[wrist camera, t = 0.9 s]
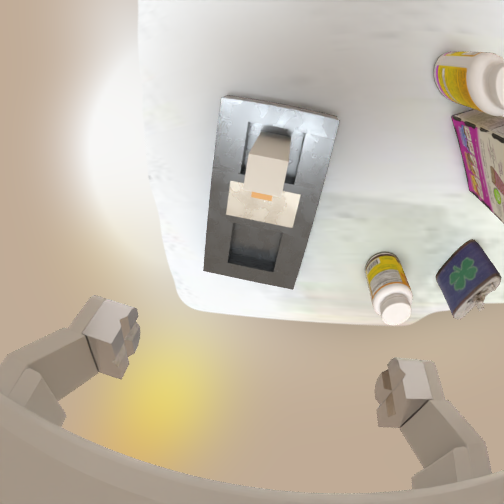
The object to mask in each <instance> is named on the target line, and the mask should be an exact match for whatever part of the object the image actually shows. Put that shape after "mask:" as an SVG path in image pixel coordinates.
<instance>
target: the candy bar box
mask: <svg viewBox="0 0 504 504" xmlns="http://www.w3.org/2000/svg"><path fill="white" fill-rule="evenodd" d="M452 121H453V124H454V127H455V131H456V134H457V138H458V141H459V145H460V149H461V153H462V157H463V161H464V166H465V170H466V175H467V180H468V185H469V190H470V192H472V193H473V194H474V195H475V196H476V197H477V198H478V199H479V200H480V201H481V202H482V203H484V204H485V205H486V206H487V207H488V208H489V209H490V210H491V211H492V212H493V213H494V214H495V215H496V216H497V217H498V218H499V219H500V220H501V221H502V222H503V223H504V117H502V116H493V115H489V114H487V113H484V112H481V111H479V110H476V109H473V110H470V111H468V112H464V113H461V114H458V115H454V116H452Z"/></svg>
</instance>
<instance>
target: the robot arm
mask: <svg viewBox="0 0 504 504" xmlns="http://www.w3.org/2000/svg"><path fill="white" fill-rule="evenodd" d="M137 318H138V312H137V309H136V308H134V307H131V306H128V305H124V304H121V303H118V302H115V301H112V300H109V299H105V298H102V297H99V296H96V295H94V296H92V297H90V299H89V300H88V301H87V303H86V304H85V305H84V307H83V308H82V309H81V311H80V312H79V314H78V315H77V316H76V318H75V319H74V320H73V322H72V323H71V325H70V326H69V327H68V329H67V328H62V329H60V330H58V331H56V332H53V333H52V334H49V335H47V336H45V337H43V338H41V339H39V340H37V341H35V342H32V343H30V344H28V345H26V346H24V347H22V348H20V349H18V350H16V351H14V352H12V353H10V354H8V355H7V356H6V358H5V359H4V360H3V362H2V363H1V365H0V504H504V470H503V471H500V472H496V473H493V474H492V472H491V467H490V461H489V457H488V452H487V447H486V443H485V441H484V440H483V439H482V438H481V437H480V436H479V434H478V433H477V432H476V431H475V430H474V428H473V427H472V426H471V425H470V424H469V423H468V422H467V420H466V419H465V418H464V417H463V416H462V415H461V414H460V412H459V411H458V410H457V409H456V408H455V407H454V406H453V405H452V403H451V402H450V401H449V400H445V397H444V394H443V390H442V386H441V382H440V379H439V376H438V372H437V369H436V365H435V363H434V362H433V361H428V360H417V359H405V358H393V359H392V360H391V361H390V362H389V363H388V370H386V371H384V372H382V373H381V374H380V376H379V377H378V379H377V382H376V386H375V398H376V400H377V401H378V403H379V404H380V406H379V407H378V409H377V416H378V426H379V427H394V428H400V430H401V432H402V433H403V435H404V437H405V438H406V440H407V442H408V443H409V445H410V446H411V448H412V449H413V451H414V453H415V454H416V456H417V458H418V459H419V461H420V463H421V464H422V466H423V468H424V469H423V470H421V471H420V472H418V473H416V474H415V475H414V476H413V477H412V490H404V491H394V492H380V493H360V494H324V493H302V492H288V491H279V490H270V489H262V488H255V487H247V486H241V485H235V484H230V483H224V482H219V481H214V480H209V479H205V478H201V477H197V476H192V475H188V474H184V473H180V472H177V471H173V470H170V469H166V468H163V467H159V466H156V465H153V464H150V463H147V462H144V461H141V460H138V459H135V458H132V457H129V456H126V455H123V454H121V453H118V452H115V451H113V450H111V449H108V448H106V447H103V446H101V445H98V444H96V443H93V442H91V441H89V440H87V439H84V438H82V437H80V436H78V435H76V434H73V433H71V432H69V431H67V430H65V429H63V428H61V426H62V424H63V422H64V420H65V418H66V414H65V412H64V410H63V409H62V407H61V406H60V404H59V403H58V401H59V400H60V399H62V398H63V397H65V396H66V395H68V394H69V393H70V392H72V391H73V390H75V389H76V388H78V387H79V386H81V385H82V384H84V383H85V382H86V381H88V380H89V379H91V378H92V377H93V376H95V375H96V374H98V372H101V373H103V374H106V375H109V376H112V377H115V378H119V379H122V377H123V375H124V373H125V371H126V369H127V367H128V365H129V361H128V357H129V356H130V355H132V354H134V353H135V351H136V349H137V346H138V343H139V339H140V326H139V325H138V324H137V322H136V320H137Z"/></svg>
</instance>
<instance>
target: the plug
mask: <svg viewBox="0 0 504 504" xmlns="http://www.w3.org/2000/svg"><path fill="white" fill-rule="evenodd" d="M290 145H291V137H288V136H283V135H278V134H273V133H268V132H263V131H261V132H260V134H259V136H258V138H257V140H256V141H255V143H254V145H253V147H252V149H251V150H250V152H249V155H248V161H247V167H246V174H245V180H244V187H243V190H246V191H251V192H252V193H251V197H253V198H258V199H263V200H268V201H272V196H276V197H281V195H282V191H283V186H284V181H285V177H286V172H287V167H288V163H289V154H290Z"/></svg>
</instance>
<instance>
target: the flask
mask: <svg viewBox="0 0 504 504" xmlns="http://www.w3.org/2000/svg"><path fill="white" fill-rule="evenodd" d="M436 280H437V282H438V284H439V286H440V288H441V290H442V292H443V295H444V297H445V299H446V301H447V303H448V305H449V308H450V310H451V313H452V315H453V317H454V318H455V319H461V318H463V317H464V316H465V315H466V314H467V313H468V312H469V311H470V310H471V309H472V308H473V307H474V306H477V308H478V310H479V311H480V310H483V309H484V308H482V306H483V305H484V303H483V301H484V299H485V296H486V295H487V294H488V293H490V292H492V291H493V290H494V291H495V290H496V288H497V287H498V286H499V284H500V282H501V276H500V274H499V272H498V271H497V270H496V268H495V266H494V265H493V263H492V262H491V261H490V260H489V258H488V257H487V255H486V254H485V252H484V251H483V249H482V248H481V247H480V245H479V244H478V243H477V242H476V241H475V240H473V239H472V240H469V241H468V242H466V243H465V244H464V245H463V246H461V247H460V248H459V249H458V250H457V251H456V252H455V253H454V254H453V255H452V257H451V258H449V259H448V261H447V262H446V263H445V264H444V265H443V267H442V268H441V269H440V270H439V271H438V273H437V276H436Z"/></svg>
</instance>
